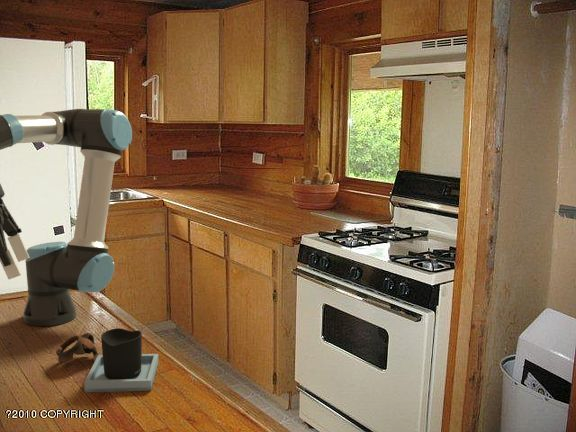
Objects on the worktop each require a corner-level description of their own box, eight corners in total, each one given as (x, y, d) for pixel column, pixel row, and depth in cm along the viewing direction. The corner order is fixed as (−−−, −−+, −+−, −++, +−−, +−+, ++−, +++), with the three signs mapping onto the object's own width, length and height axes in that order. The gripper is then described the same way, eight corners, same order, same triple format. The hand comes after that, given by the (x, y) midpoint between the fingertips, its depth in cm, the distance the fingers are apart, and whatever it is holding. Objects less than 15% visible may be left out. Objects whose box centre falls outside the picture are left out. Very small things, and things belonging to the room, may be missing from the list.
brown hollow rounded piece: (97, 372, 149) (78, 348, 146) (65, 385, 151) (46, 362, 148) (110, 342, 160) (93, 319, 157) (81, 354, 162) (63, 332, 159)
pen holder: (111, 386, 139) (109, 345, 138) (97, 371, 147) (95, 332, 145) (149, 375, 145) (148, 336, 143) (134, 362, 152) (132, 324, 150)
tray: (98, 364, 152) (98, 355, 152) (158, 362, 154) (158, 353, 153) (84, 392, 138) (84, 382, 137) (151, 390, 139) (150, 380, 139)
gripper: (-23, 181, 149) (12, 258, 155) (-50, 202, 125) (-7, 291, 131) (7, 171, 150) (41, 248, 156) (-14, 190, 126) (27, 279, 133)
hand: (19, 268), depth 144 cm, fingers open, 13 cm apart
